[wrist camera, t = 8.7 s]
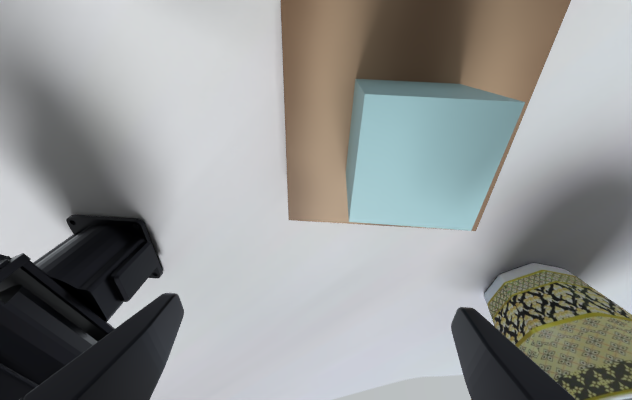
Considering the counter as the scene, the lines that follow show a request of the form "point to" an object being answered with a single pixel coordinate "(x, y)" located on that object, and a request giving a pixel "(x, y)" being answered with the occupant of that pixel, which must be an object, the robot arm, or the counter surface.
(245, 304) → the counter surface
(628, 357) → the ceramic cup
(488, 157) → the teal cube
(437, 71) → the walnut plinth
